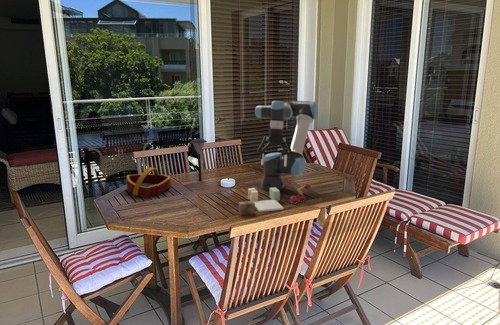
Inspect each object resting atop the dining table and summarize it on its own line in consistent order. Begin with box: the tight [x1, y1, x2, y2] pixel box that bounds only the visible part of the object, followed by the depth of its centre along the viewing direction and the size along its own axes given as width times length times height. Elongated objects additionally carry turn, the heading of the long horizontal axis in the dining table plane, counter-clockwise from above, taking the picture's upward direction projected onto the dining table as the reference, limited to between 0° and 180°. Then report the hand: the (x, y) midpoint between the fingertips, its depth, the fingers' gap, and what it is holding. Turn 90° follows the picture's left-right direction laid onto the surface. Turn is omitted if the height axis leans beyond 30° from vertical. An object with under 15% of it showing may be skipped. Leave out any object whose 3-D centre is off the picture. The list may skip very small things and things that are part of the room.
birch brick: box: [247, 187, 259, 202], centre depth 222 cm, size 8×4×6 cm, turn 14°
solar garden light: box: [189, 138, 208, 182], centre depth 261 cm, size 12×12×30 cm
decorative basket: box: [126, 167, 171, 198], centre depth 242 cm, size 34×29×15 cm
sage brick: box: [268, 187, 281, 202], centre depth 223 cm, size 8×4×6 cm, turn 14°
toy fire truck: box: [289, 183, 311, 205], centre depth 217 cm, size 3×14×10 cm, turn 126°
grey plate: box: [254, 199, 284, 213], centre depth 210 cm, size 15×14×1 cm
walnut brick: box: [238, 200, 256, 216], centre depth 200 cm, size 8×4×6 cm, turn 104°
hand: (273, 165), depth 212 cm, fingers open, 13 cm apart
